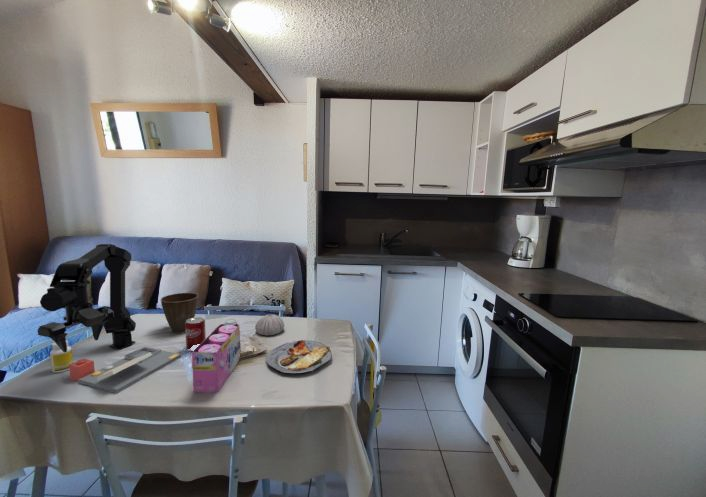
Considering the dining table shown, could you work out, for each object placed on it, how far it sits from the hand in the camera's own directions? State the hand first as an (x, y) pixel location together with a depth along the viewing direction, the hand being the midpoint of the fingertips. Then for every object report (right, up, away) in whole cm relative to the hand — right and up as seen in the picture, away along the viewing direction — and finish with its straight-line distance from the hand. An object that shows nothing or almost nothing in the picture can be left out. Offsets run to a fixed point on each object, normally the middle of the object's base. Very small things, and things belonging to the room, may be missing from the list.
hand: (81, 345), depth 100 cm
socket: (+11, -8, +14) cm, 19 cm away
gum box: (+44, -12, +6) cm, 46 cm away
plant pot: (+10, -6, +41) cm, 42 cm away
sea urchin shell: (+51, -7, +42) cm, 67 cm away
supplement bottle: (-12, -10, +6) cm, 16 cm away
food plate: (+70, -11, +17) cm, 73 cm away
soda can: (+26, -9, +24) cm, 36 cm away
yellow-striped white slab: (+14, -7, +1) cm, 16 cm away
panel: (+13, -10, +7) cm, 18 cm away
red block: (-1, -11, +1) cm, 11 cm away
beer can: (+41, -9, +24) cm, 48 cm away
